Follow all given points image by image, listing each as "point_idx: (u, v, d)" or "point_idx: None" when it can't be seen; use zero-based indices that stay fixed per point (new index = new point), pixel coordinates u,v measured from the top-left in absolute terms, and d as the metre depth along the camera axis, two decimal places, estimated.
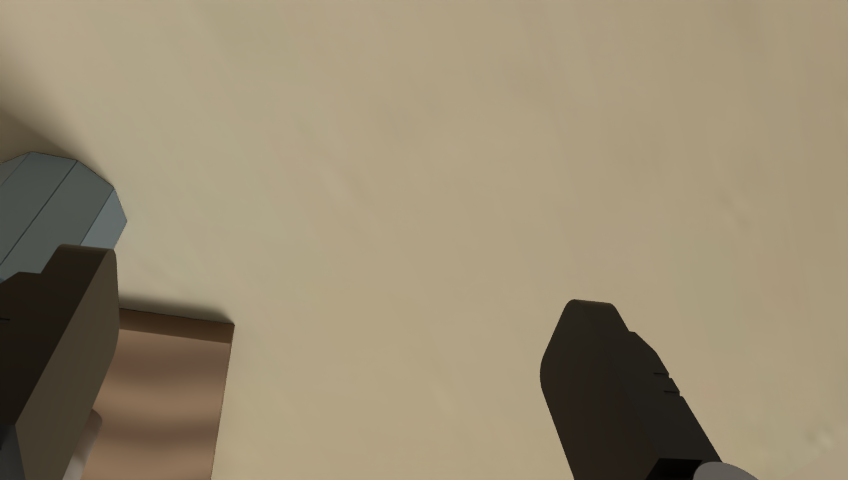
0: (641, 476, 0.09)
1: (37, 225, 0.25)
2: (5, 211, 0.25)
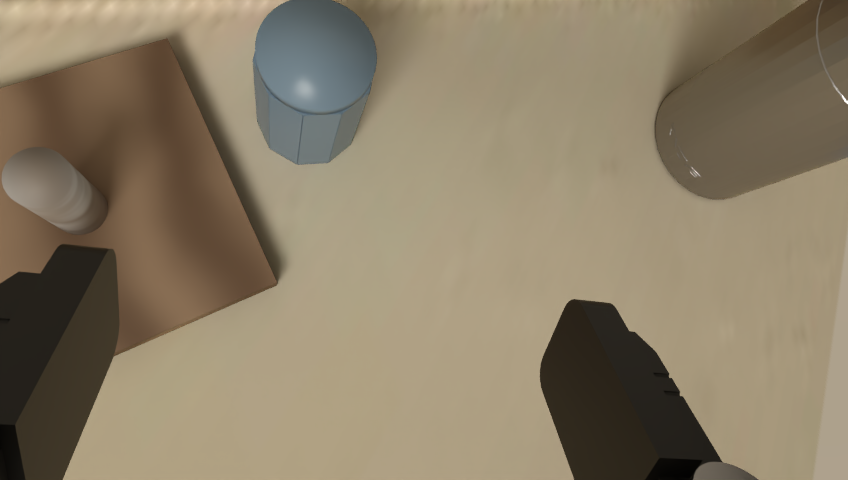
0: (641, 476, 0.09)
1: None
2: None
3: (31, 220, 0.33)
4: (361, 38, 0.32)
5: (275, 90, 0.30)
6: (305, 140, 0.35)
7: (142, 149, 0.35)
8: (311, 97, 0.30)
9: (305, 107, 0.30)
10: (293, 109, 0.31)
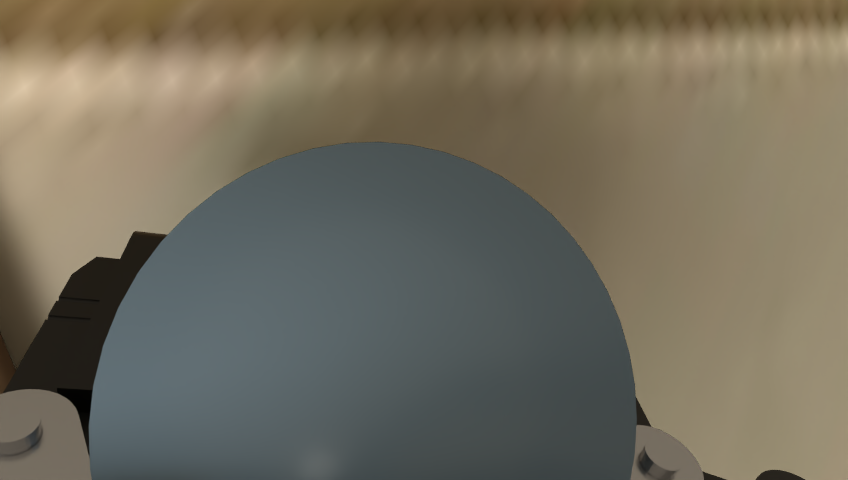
0: None
1: None
2: None
3: None
4: (571, 314, 0.07)
5: None
6: None
7: None
8: None
9: None
10: None
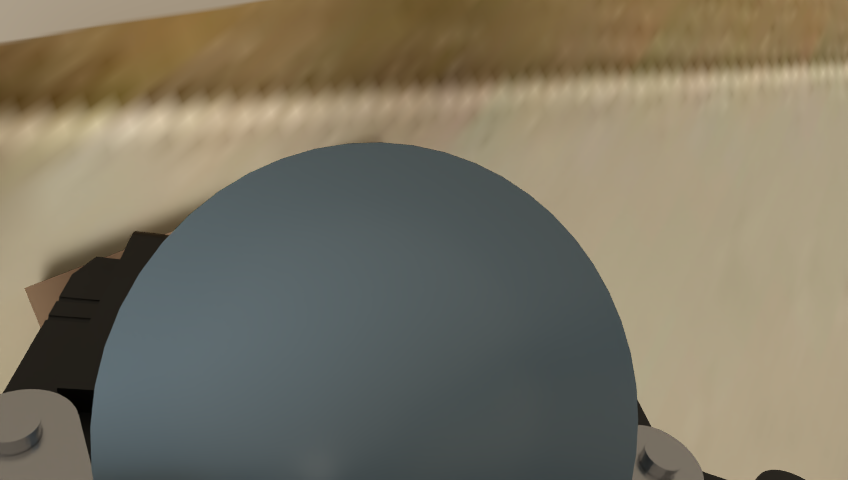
0: None
1: None
2: None
3: None
4: (572, 314, 0.07)
5: None
6: None
7: None
8: None
9: None
10: None
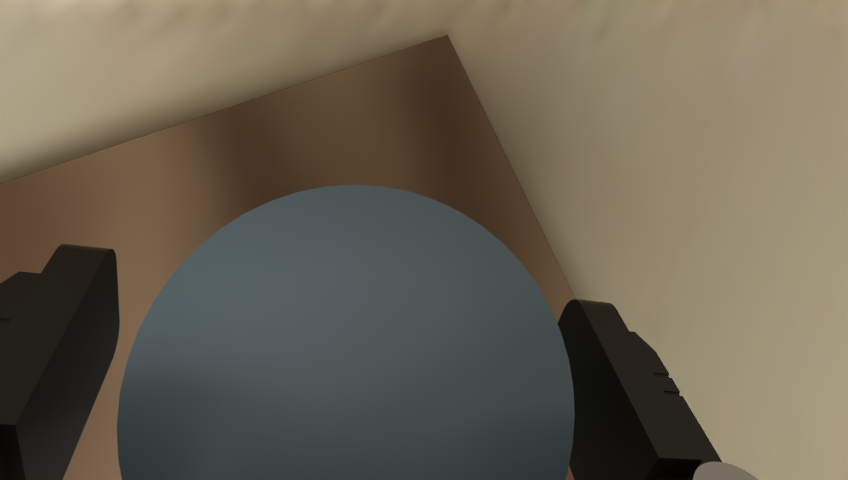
0: (641, 476, 0.09)
1: None
2: None
3: None
4: (518, 327, 0.09)
5: None
6: None
7: None
8: None
9: None
10: None
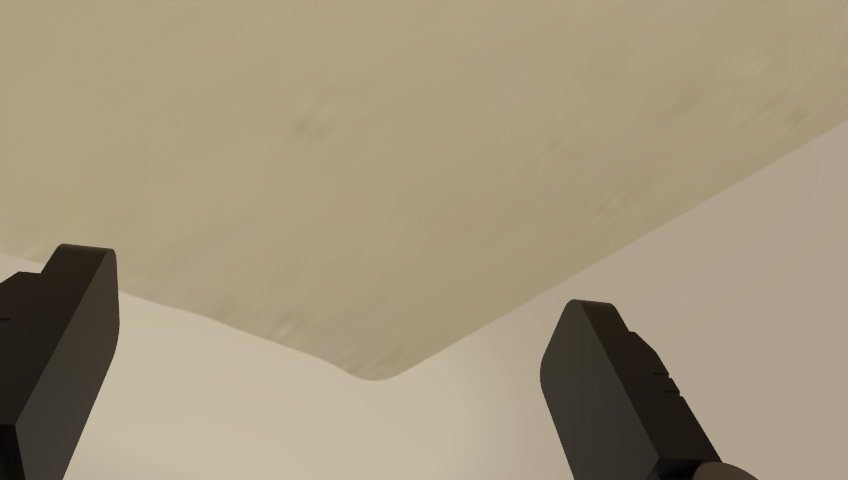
0: (641, 476, 0.09)
1: None
2: None
3: None
4: None
5: None
6: None
7: None
8: None
9: None
10: None
